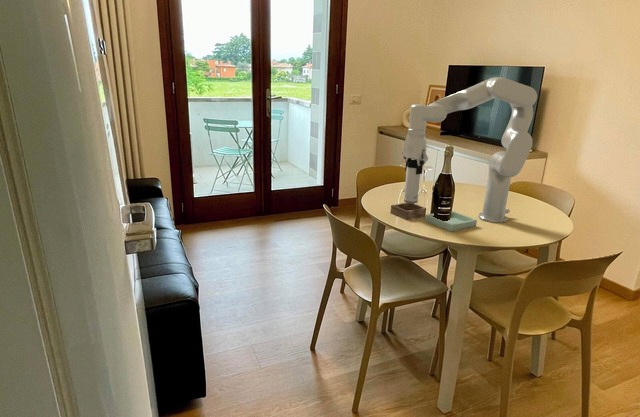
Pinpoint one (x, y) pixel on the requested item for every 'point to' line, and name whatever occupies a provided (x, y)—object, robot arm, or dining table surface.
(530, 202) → the dining table surface
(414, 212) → the brown wooden open box
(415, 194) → the travel mug
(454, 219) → the tray
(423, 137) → the robot arm
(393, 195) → the dining table surface
